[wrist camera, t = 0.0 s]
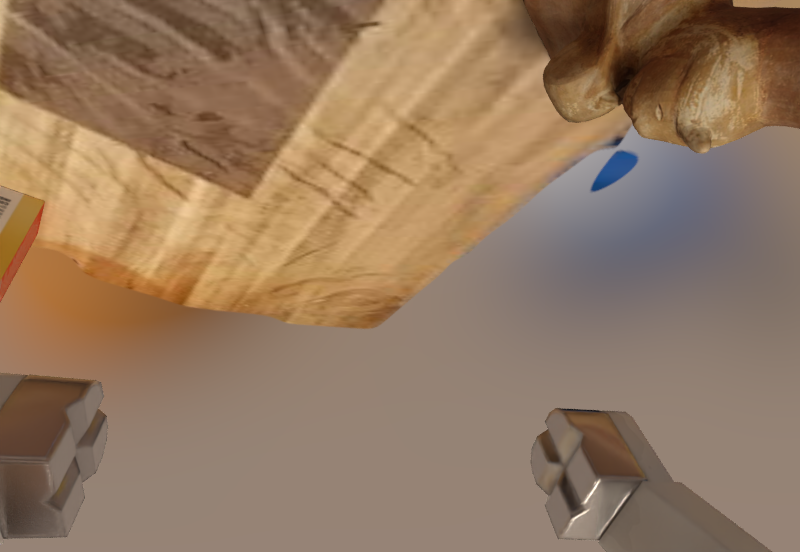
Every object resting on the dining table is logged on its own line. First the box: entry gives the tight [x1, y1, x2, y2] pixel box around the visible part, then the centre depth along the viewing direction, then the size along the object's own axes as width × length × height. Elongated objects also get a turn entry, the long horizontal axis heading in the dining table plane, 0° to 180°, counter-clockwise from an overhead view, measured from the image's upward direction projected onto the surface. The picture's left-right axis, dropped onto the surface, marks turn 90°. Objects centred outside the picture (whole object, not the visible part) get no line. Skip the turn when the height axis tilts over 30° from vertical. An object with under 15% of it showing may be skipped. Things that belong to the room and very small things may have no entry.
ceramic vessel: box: [523, 0, 800, 153], centre depth 43 cm, size 16×22×30 cm
